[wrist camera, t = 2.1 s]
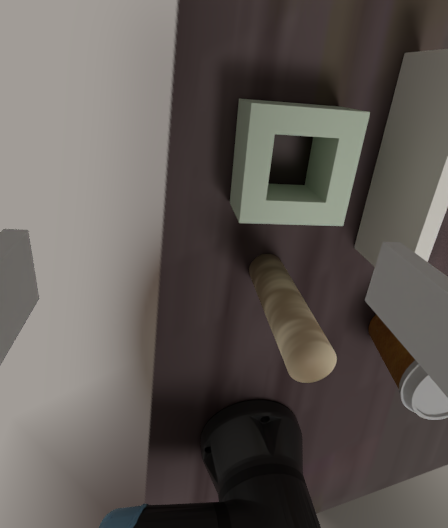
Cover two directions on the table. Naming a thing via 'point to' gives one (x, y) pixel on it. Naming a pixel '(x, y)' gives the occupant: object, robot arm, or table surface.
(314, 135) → the sage green block
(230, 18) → the table surface
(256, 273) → the birch dowel
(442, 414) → the disposable coffee cup
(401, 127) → the pale wall board
